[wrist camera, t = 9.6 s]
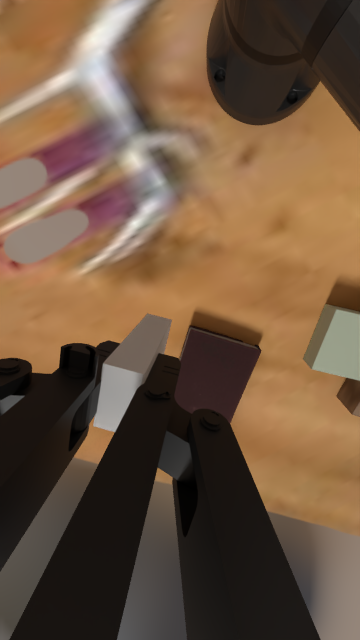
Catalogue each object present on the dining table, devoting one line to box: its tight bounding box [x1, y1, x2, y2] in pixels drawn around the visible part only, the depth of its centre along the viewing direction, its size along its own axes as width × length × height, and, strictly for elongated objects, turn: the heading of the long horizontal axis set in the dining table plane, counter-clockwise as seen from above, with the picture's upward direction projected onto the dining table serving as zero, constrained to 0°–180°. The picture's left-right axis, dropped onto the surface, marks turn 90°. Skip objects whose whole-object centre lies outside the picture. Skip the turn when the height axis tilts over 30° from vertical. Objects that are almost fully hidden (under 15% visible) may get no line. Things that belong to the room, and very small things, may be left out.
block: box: [303, 304, 360, 381], centre depth 40 cm, size 10×8×4 cm
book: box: [174, 326, 261, 423], centre depth 45 cm, size 12×19×3 cm, turn 164°
